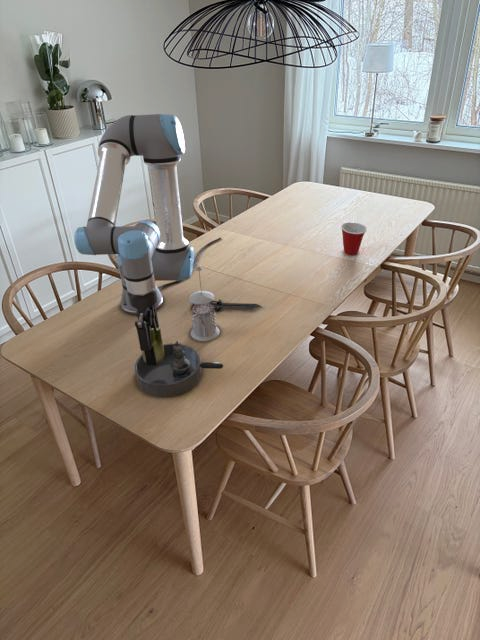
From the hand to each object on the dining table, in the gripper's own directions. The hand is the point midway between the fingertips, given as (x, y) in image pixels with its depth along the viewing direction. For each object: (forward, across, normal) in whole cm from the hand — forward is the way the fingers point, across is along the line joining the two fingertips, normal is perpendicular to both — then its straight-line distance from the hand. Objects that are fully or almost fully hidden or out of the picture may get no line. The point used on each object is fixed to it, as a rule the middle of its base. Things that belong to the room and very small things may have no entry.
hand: (153, 358), depth 138 cm
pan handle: (+3, 0, +17) cm, 17 cm away
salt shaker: (+6, 0, +8) cm, 10 cm away
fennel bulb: (+2, 0, 0) cm, 2 cm away
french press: (+6, -21, +12) cm, 25 cm away
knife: (+6, -38, +18) cm, 43 cm away
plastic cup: (+6, -82, +68) cm, 107 cm away
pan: (+6, 0, +4) cm, 7 cm away
